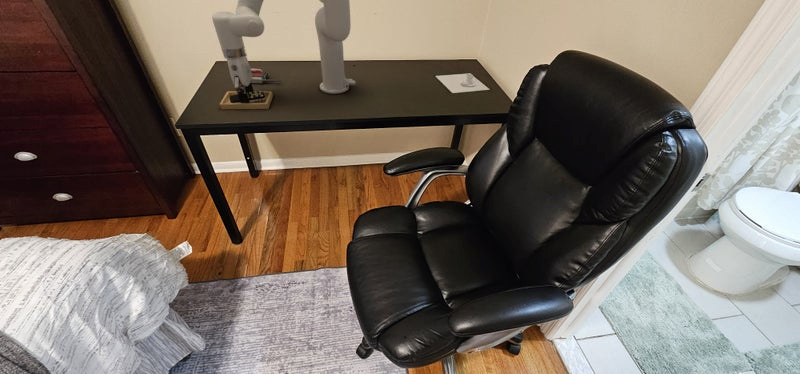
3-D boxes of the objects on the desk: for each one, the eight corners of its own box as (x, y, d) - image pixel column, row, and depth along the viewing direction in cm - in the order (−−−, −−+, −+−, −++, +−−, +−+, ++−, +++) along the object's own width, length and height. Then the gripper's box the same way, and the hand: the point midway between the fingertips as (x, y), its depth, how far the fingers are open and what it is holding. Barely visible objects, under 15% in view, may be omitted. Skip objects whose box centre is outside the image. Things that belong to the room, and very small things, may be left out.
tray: (272, 96, 129) (271, 91, 128) (268, 108, 121) (267, 103, 119) (228, 96, 126) (227, 91, 125) (221, 109, 118) (219, 104, 117)
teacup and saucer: (463, 87, 147) (464, 79, 145) (455, 81, 153) (457, 72, 150) (479, 86, 150) (481, 78, 147) (471, 79, 155) (473, 71, 153)
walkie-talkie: (233, 83, 135) (280, 84, 137) (230, 73, 132) (278, 75, 134) (239, 75, 142) (284, 77, 144) (236, 65, 139) (282, 67, 141)
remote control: (229, 99, 123) (228, 94, 121) (263, 94, 128) (262, 89, 126) (231, 106, 119) (230, 101, 117) (266, 100, 124) (265, 96, 122)
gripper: (239, 60, 105) (253, 108, 117) (250, 43, 118) (261, 88, 129) (215, 60, 104) (231, 108, 116) (229, 43, 117) (242, 88, 128)
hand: (247, 97), depth 122 cm, fingers closed on remote control, 7 cm apart
